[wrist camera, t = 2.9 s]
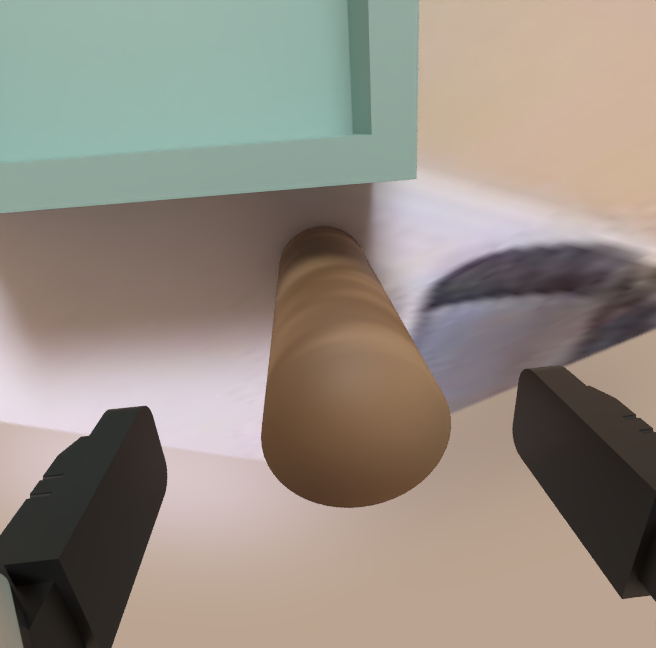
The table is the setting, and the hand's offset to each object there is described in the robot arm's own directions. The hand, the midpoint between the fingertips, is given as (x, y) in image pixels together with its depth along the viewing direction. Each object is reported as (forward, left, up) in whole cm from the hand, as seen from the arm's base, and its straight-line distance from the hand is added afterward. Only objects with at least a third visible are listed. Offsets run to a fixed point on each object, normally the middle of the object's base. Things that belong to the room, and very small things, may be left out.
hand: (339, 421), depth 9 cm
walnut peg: (0, 0, -12) cm, 12 cm away
